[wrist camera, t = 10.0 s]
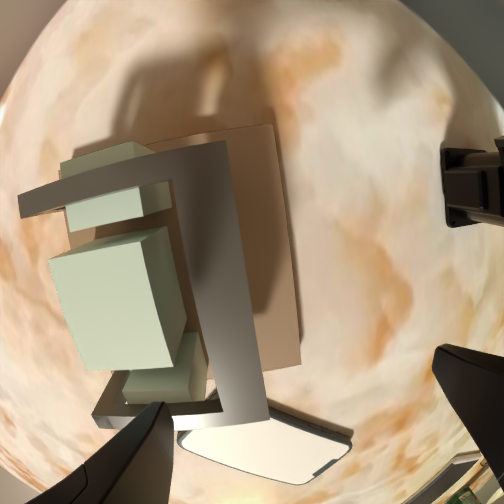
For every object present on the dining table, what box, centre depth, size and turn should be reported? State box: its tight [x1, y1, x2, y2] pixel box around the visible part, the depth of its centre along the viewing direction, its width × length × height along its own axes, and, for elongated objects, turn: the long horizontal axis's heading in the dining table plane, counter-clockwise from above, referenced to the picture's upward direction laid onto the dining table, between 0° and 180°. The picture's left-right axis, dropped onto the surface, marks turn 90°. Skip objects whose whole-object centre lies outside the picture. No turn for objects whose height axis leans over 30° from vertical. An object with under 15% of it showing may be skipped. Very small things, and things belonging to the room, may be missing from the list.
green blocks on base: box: [48, 124, 301, 431], centre depth 15 cm, size 14×16×8 cm
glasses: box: [18, 140, 270, 430], centre depth 12 cm, size 9×12×4 cm
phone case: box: [177, 391, 352, 485], centre depth 23 cm, size 9×2×16 cm
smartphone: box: [401, 453, 482, 504], centre depth 32 cm, size 13×27×2 cm, turn 153°
